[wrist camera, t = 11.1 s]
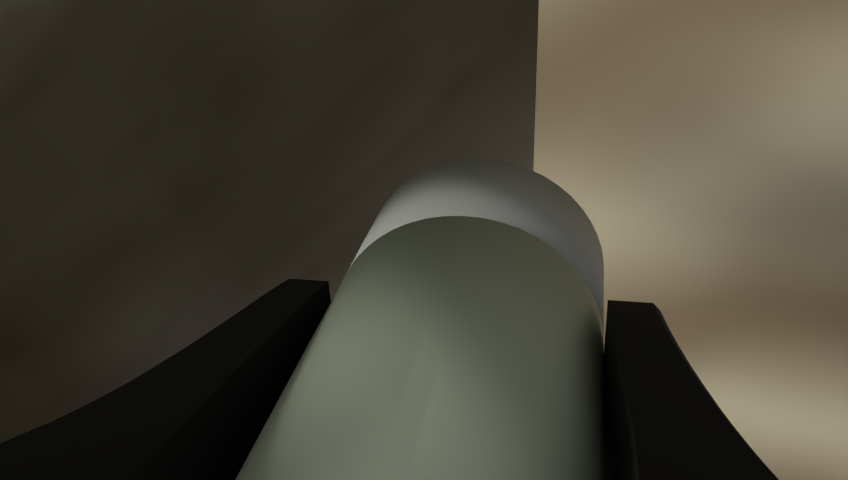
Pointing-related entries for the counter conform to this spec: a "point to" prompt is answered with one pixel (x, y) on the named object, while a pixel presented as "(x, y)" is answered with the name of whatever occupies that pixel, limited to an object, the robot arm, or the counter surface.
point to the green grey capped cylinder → (454, 342)
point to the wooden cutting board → (717, 194)
